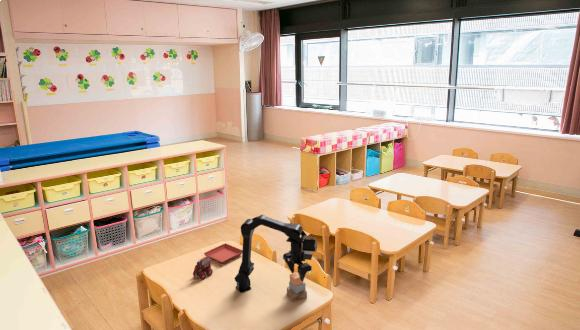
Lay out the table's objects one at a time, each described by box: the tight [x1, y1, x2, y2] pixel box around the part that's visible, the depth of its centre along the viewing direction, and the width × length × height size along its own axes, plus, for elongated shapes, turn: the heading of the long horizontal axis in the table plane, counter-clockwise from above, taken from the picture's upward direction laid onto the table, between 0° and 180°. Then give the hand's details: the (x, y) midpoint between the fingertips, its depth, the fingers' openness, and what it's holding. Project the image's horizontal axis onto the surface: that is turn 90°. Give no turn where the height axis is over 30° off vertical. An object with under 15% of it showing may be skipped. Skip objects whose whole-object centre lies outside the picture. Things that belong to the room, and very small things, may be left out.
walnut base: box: [286, 286, 308, 302], centre depth 212 cm, size 8×8×4 cm
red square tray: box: [203, 243, 243, 265], centre depth 256 cm, size 18×18×3 cm
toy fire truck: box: [192, 256, 214, 281], centre depth 234 cm, size 7×12×10 cm, turn 143°
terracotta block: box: [289, 271, 304, 286], centre depth 210 cm, size 5×5×4 cm
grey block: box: [288, 281, 307, 294], centre depth 211 cm, size 6×6×4 cm
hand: (297, 276), depth 210 cm, fingers open, 9 cm apart
